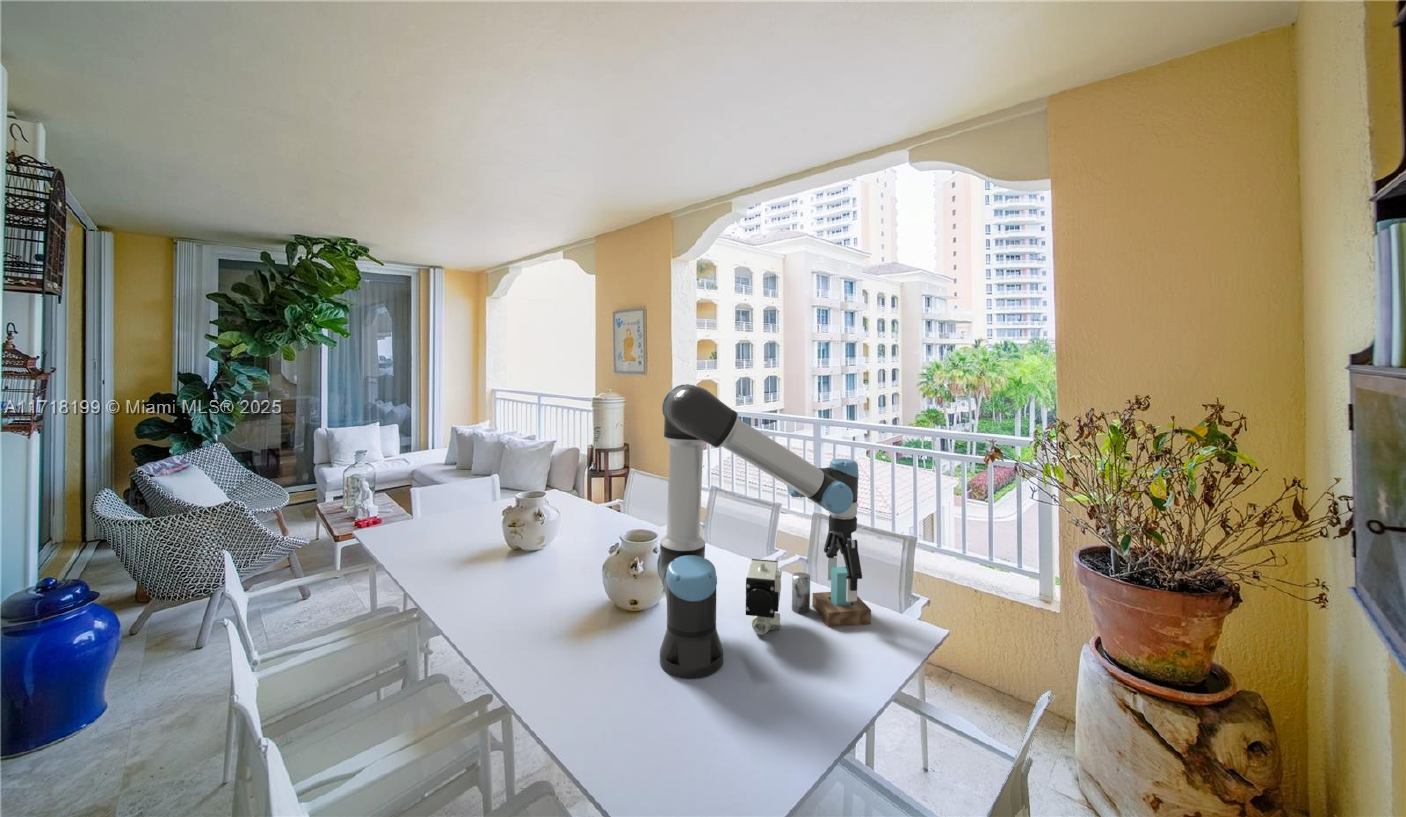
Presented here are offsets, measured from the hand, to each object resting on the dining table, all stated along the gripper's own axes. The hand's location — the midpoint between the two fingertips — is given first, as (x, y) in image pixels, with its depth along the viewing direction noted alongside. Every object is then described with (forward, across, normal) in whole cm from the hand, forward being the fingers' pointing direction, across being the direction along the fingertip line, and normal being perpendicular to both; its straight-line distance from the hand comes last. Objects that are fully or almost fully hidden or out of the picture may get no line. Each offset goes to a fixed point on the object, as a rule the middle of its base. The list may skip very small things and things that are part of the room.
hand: (841, 589), depth 144 cm
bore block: (+7, 0, 0) cm, 7 cm away
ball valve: (+7, -4, +23) cm, 24 cm away
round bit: (+7, +4, +10) cm, 13 cm away
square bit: (+7, 0, 0) cm, 7 cm away
